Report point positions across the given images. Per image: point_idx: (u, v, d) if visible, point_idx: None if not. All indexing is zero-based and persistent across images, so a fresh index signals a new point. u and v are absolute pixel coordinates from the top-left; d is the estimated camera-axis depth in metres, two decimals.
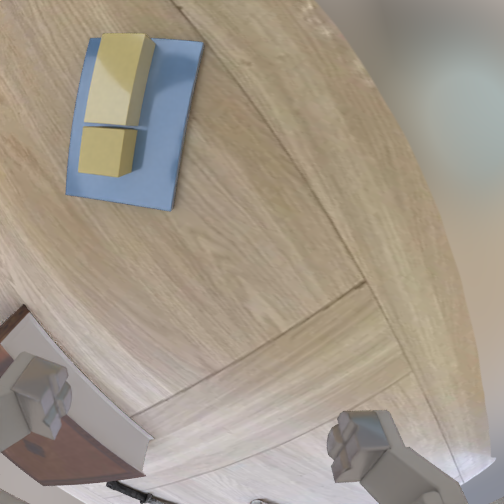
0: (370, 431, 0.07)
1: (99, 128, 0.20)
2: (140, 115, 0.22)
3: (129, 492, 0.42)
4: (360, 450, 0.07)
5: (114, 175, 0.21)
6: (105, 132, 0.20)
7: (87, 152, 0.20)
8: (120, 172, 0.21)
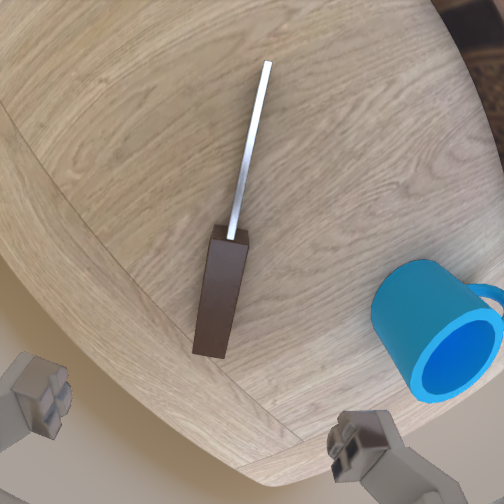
0: (370, 431, 0.07)
1: None
2: None
3: None
4: (360, 450, 0.07)
5: None
6: None
7: None
8: None
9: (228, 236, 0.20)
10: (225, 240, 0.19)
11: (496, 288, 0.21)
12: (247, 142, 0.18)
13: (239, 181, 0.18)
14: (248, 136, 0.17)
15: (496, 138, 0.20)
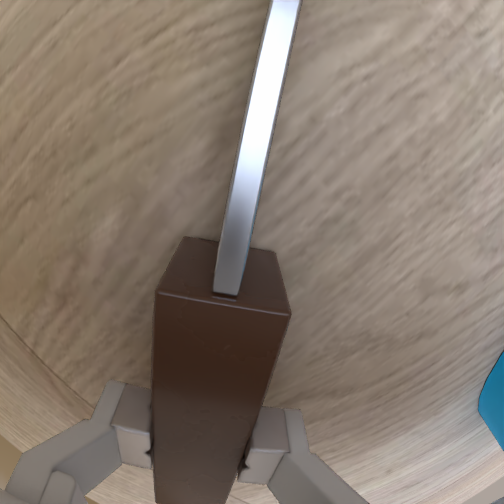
0: (269, 430, 0.07)
1: None
2: None
3: None
4: (250, 449, 0.06)
5: None
6: None
7: None
8: None
9: (218, 284, 0.05)
10: (208, 298, 0.05)
11: None
12: None
13: (259, 77, 0.04)
14: None
15: None
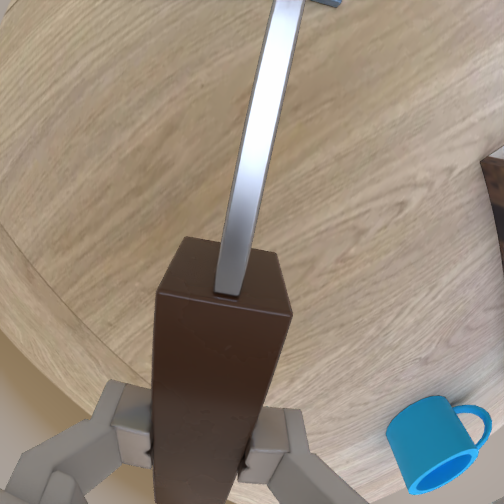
0: (269, 430, 0.07)
1: None
2: None
3: None
4: (250, 449, 0.06)
5: None
6: None
7: None
8: None
9: (220, 284, 0.05)
10: (210, 299, 0.05)
11: (482, 410, 0.25)
12: None
13: (261, 77, 0.04)
14: None
15: None
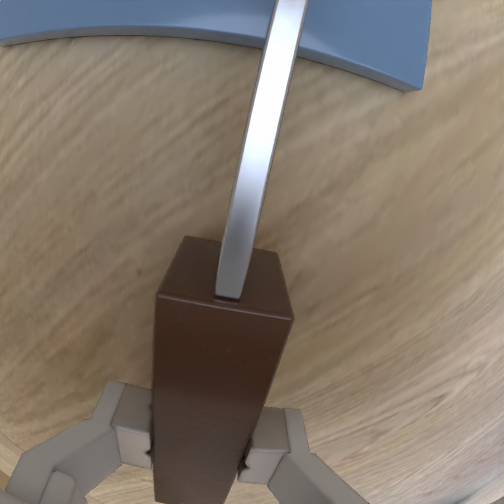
0: (269, 430, 0.07)
1: None
2: None
3: None
4: (250, 449, 0.06)
5: None
6: None
7: None
8: None
9: (220, 287, 0.05)
10: (210, 303, 0.05)
11: None
12: None
13: (264, 77, 0.04)
14: None
15: None
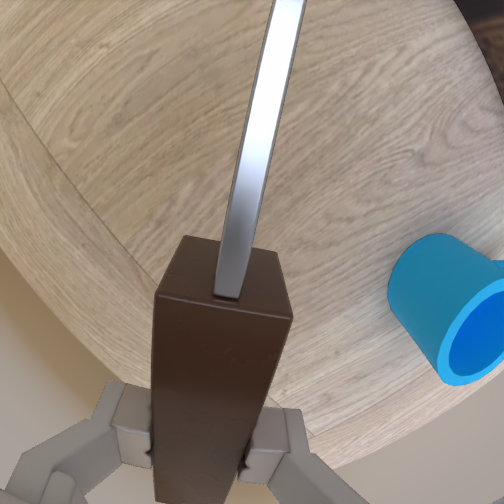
0: (269, 430, 0.07)
1: None
2: None
3: None
4: (250, 449, 0.06)
5: None
6: None
7: None
8: None
9: (219, 287, 0.05)
10: (209, 301, 0.05)
11: None
12: None
13: (262, 75, 0.04)
14: None
15: None
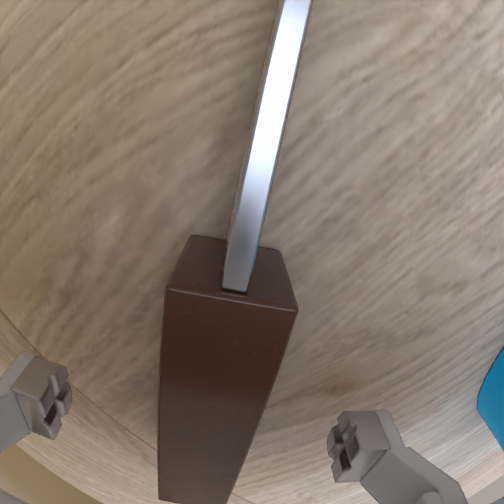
0: (370, 431, 0.07)
1: None
2: None
3: None
4: (360, 450, 0.07)
5: None
6: None
7: None
8: None
9: (228, 280, 0.06)
10: (218, 295, 0.06)
11: None
12: None
13: (270, 80, 0.04)
14: None
15: None
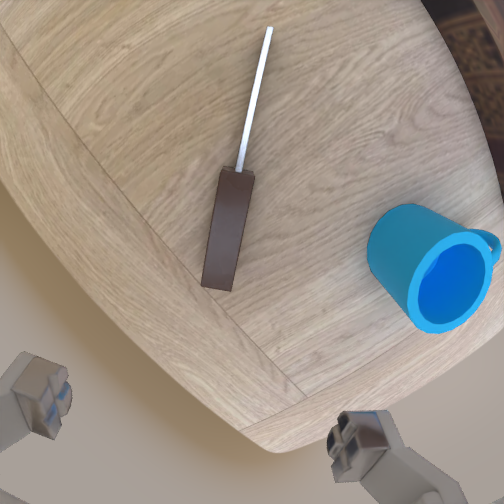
0: (370, 431, 0.07)
1: None
2: None
3: None
4: (360, 450, 0.07)
5: None
6: None
7: None
8: None
9: (236, 169, 0.22)
10: (234, 172, 0.22)
11: (484, 231, 0.23)
12: (253, 89, 0.20)
13: (246, 121, 0.21)
14: (254, 85, 0.20)
15: (473, 97, 0.22)
